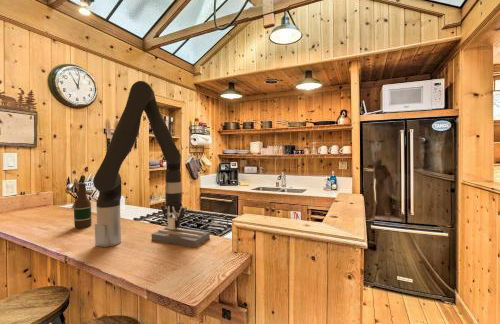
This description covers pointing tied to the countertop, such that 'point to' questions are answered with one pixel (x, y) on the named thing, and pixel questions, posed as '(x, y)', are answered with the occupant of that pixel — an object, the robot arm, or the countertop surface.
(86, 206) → the beer bottle
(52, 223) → the countertop surface
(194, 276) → the countertop surface
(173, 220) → the fader tab
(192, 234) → the console
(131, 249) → the countertop surface
